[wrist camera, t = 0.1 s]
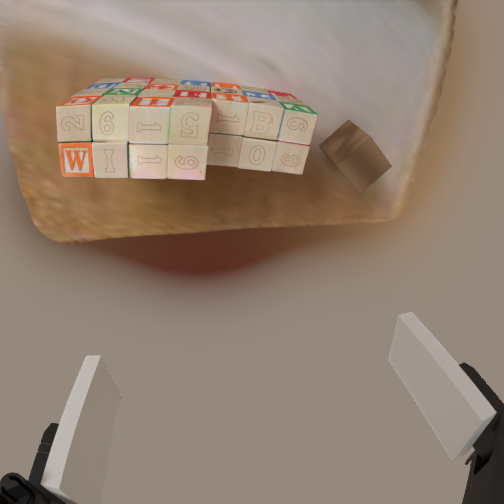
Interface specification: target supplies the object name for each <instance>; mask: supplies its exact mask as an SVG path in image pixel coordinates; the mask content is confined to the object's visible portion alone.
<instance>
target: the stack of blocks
mask: <svg viewBox="0 0 504 504" xmlns="http://www.w3.org/2000/svg"><path fill="white" fill-rule="evenodd" d="M56 115H57V136H58V141H59V142H60V143H59V156H60V164H61V172H62V176H63V177H93V176H95V177H96V178H128V177H131V178H133V179H166V178H169V179H186V180H205V175H206V165H215V166H227V167H238V168H240V169H250V170H259V171H269V172H270V171H277V172H285V173H293V174H300V175H301V174H302V173H303V169H304V166H305V162H306V158H307V155H308V152H309V148H310V143H311V139H312V136H313V132H314V128H315V125H316V121H317V117H318V115H317V113H315V112H314V111H313V110H312V109H311V108H310V107H308V106H306V105H304V104H303V103H302V102H301V101H300V100H298V99H297V98H296V97H294V96H293V95H291V94H286V93H280V92H274V91H268V90H265V89H261V88H254V87H248V86H239V85H234V84H225V83H216V82H211V83H209V82H199V81H187V80H183V81H182V80H167V79H154V78H103V79H101V80H99V81H97V82H95V83H94V84H93V85H91V86H89V87H88V88H85V89H84V90H81V91H79V92H78V93H76V94H74V95H73V96H71V97H70V98H69V99H67V100H66V101H64V102H63V103H61V104H59V105H58V106H57V107H56Z"/></svg>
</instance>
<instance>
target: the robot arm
mask: <svg viewBox="0 0 504 504" xmlns="http://www.w3.org/2000/svg"><path fill="white" fill-rule="evenodd" d="M388 360H389V362H390V363H391V365H392V366H393V368H394V369H395V371H396V372H397V374H398V375H399V377H400V379H401V380H402V381H403V383H404V385H405V386H406V387H407V389H408V391H409V392H410V394H411V395H412V397H413V399H414V400H415V402H416V403H417V405H418V406H419V408H420V410H421V411H422V413H423V415H424V416H425V418H426V419H427V421H428V423H429V424H430V426H431V428H432V429H433V431H434V432H435V434H436V436H437V437H438V439H439V441H440V442H441V444H442V446H443V447H444V449H445V451H446V453H447V454H448V456H449V458H450V459H451V461H454V460H456V459H458V458H459V457H461V456H463V455H464V454H466V453H467V451H469V449H470V448H471V447H472V446H473V447H474V449H475V451H474V452H473V453H472V454H471V456H470V457H469V458H468V459H467V460H466V463H465V465H467V464H468V463H469V462H470V461H471V460H472V462H471V464H470V465H471V467H470V472H469V478H468V481H467V486H466V490H465V494H464V498H463V502H462V504H504V404H503V403H502V401H501V400H500V399H499V398H498V396H497V395H496V394H495V393H494V392H493V390H492V389H491V388H490V387H489V386H488V385H487V384H486V382H485V381H484V379H483V378H481V376H480V375H479V374H478V372H477V371H476V370H475V369H474V368H473V367H471V366H469V365H468V364H466V363H462V364H460V365H458V364H457V363H456V361H455V360H454V359H453V358H452V357H451V355H450V354H449V353H448V352H447V351H446V350H445V349H444V347H443V346H442V345H441V344H440V343H439V342H438V340H437V339H436V338H435V337H434V336H433V335H432V334H431V333H430V331H429V330H428V329H427V328H426V327H425V326H424V325H423V324H422V323H421V322H420V320H419V319H418V318H417V317H416V316H415V315H414V314H413V313H412V312H410V313H405V314H401V315H398V319H397V324H396V328H395V333H394V337H393V342H392V346H391V350H390V354H389V358H388ZM121 399H122V397H121V395H120V393H119V391H118V389H117V387H116V385H115V383H114V381H113V379H112V377H111V375H110V373H109V371H108V369H107V367H106V365H105V363H104V361H103V359H102V357H101V355H100V356H86V358H85V360H84V362H83V365H82V367H81V370H80V372H79V374H78V377H77V379H76V382H75V384H74V386H73V389H72V392H71V394H70V397H69V399H68V402H67V404H66V407H65V410H64V413H63V415H62V418H61V421H60V424H56V423H51V424H50V426H49V427H48V428H47V429H46V430H45V432H44V434H43V437H42V440H41V444H40V445H39V449H38V453H37V454H36V457H35V460H34V464H33V467H32V470H31V473H30V476H29V480H28V481H27V480H25V479H24V478H23V477H22V476H21V475H19V474H18V473H13V472H12V473H8V474H6V475H5V476H3V478H2V479H1V481H0V504H101V500H102V493H103V487H104V481H105V475H106V469H107V464H108V458H109V453H110V448H111V443H112V438H113V433H114V429H115V424H116V420H117V415H118V411H119V407H120V403H121Z"/></svg>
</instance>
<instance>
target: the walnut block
mask: <svg viewBox="0 0 504 504" xmlns="http://www.w3.org/2000/svg"><path fill="white" fill-rule="evenodd" d="M319 146H320V147H321V148H322V149H323V150H324V151H325V153H326V154H327V155H328V156H329V157H330V159H331V160H332V161H333V162H334V163H335V165H336V166H337V167H338V168H339V169H340V170H341V171H342V172H343V174H344V175H345V176H346V177H347V178H348V179H349V180H350V181H351V183H352V184H353V185H354V186H355V187H356V188H357V189H358V191H359V192H360V193H361V192H363V191H364V190H365V189H366V188H367V187H369V186H370V185H371V184H372V183H373V182H374V181H376V180H377V179H378V178H379V177H380V176H381V175H383V174H384V173H385V172H386V171H387V170H388V169H390V168H391V167H392V166H391V164H390V163H389V162H388V160H387V159H386V157H385V156H384V155H383V153H382V152H381V150H380V149H379V148H378V146H377V145H376V144H375V142H374V141H373V139H372V138H371V137H370V136H369V135H368V134H366V133H365V132H364V131H363V130H361V129H360V128H359V127H357V126H356V125H355V124H354V123H352V122H351V121H350V120H348V121H347V122H345V123H344V124H343V125H342V126H341V127H340V128H339V129H338V130H336V131H335V132H334V133H333V134H332V135H331V136H330V137H328V138H327V139H326V140H325V141H324V142H323V143H322V144H321V145H319Z"/></svg>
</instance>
